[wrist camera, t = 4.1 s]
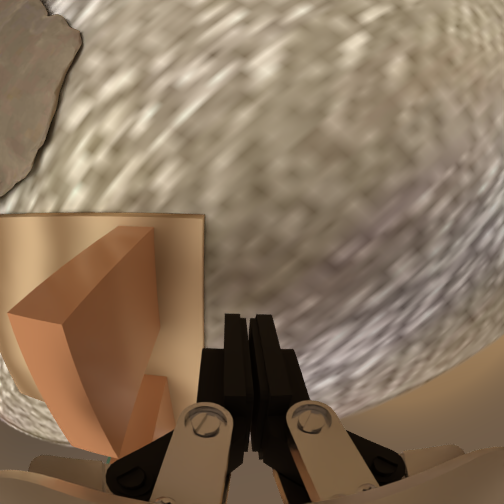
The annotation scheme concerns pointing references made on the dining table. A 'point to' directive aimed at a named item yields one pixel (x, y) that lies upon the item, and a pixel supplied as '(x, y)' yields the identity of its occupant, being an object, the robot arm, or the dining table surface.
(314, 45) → the dining table surface
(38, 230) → the board
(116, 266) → the tile
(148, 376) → the tile
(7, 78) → the stone tool
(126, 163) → the dining table surface
